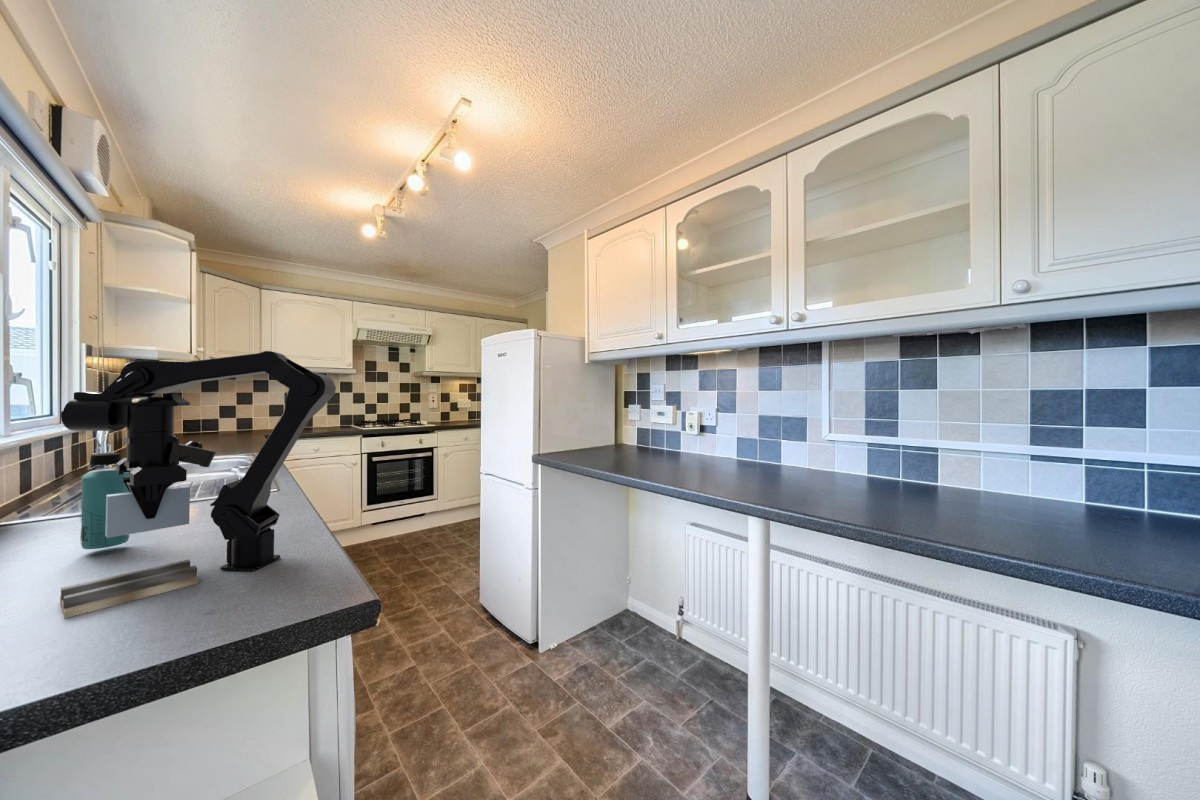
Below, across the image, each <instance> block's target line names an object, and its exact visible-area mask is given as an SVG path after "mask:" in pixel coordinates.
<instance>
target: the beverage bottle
mask: <svg viewBox="0 0 1200 800" xmlns="http://www.w3.org/2000/svg"><path fill="white" fill-rule="evenodd" d="M89 458H90V459H89V466H106V465H108V466H109V465H116V463H118V462H119V461H120V460H122V455H121V453H119V452H105V453H102V452H101V453H95V454H91V455H90V457H89ZM126 477H128V472H124V473H123V474H122V475H118V474H117V473H116V468H105V469H94V470H90V471H88V472H87V473H86V474H84V475H83V476H81V478H80V479H81V499H80V503H81V504H79V506H80V508H81V510H80V511H81V512H80V514H79V515H80V516H79V517H80V523H81V526H80V527H81V528H80V538H79V539H80V540H81V541H80V544H79V545H81V548H82V549H83V550H98V549H107V548H111V547H115V546H118V545H119V546H120V545H122V544H126V543H127V542H128V541H129V538H130V537H131V534H127V535H122V536H116V537H110V538H107V537H106V536H105V527H106V495H109V494H118V493H127V492H129V491H128V490H127V488H126V486H125V485H124V483H123V482H122V480H121V478H126Z"/></svg>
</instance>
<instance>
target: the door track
mask: <svg viewBox="0 0 1200 800" xmlns="http://www.w3.org/2000/svg"><path fill="white" fill-rule="evenodd" d="M199 579H200V577H199V576H198V566H196V565H191V560H190V559H189V558H188V559H184V560H179V561H175V562H171V563H166V564H163V565H162V564H161V565H158V566H153V567H148V568H145V569H144V568H143V569H139V570H135V571H130V572H126V573H123V574H117V575H113V576H109V577H108V576H107V577H104V578H99V579H95V580H92V581H91V580H90V581H85V582H82V583H77V584H73V585H69V586H64V587H61V588H60V595H59V602H60V607H61V610H63V611H62V614H63V618H64V619H67V618H71V617H76V616H80V615H83V613H84V614H87V613H86V612H88V613H91V612H96V611H98V610H102V609H106V608H110V607H115V606H118V605H122V604H126V603H128V602H133V601H136V600H140V599H144V598H148V597H152V596H155V595H159V594H164V593H167V592H170V591H171V592H172V591H174V590H179V589H183V588H186V587H189V586H194V585H198V584H200V583H199V582H200V581H199ZM132 600H133V601H132ZM79 614H80V615H79ZM75 615H76V616H75Z"/></svg>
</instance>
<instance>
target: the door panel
mask: <svg viewBox="0 0 1200 800" xmlns="http://www.w3.org/2000/svg"><path fill="white" fill-rule="evenodd" d="M190 501H191V486H189V485H180V486H169V487H168V488H167V489H166V490H165V492H164V495H163V497H162V500H161V503H160V506H159V509H158V511H157V514H156V517H155V518H152V519H146V518H145V516H144V514H143V513H142V511H141V509H140V507H139V505H138V503H137V502H136V500H135V498H134V496H133V494H132V493H131V492H127V493H118V494H109V495H106V527H105V536H106V537H107V538H110V537H116V536H122V535H127V534H129V535H132V534H139V533H143V532H149V531H155V530H161V529H167V528H173V527H179V526H185V525H186V526H187V525H190V511H191V510H190V505H191V502H190Z"/></svg>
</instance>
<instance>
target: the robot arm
mask: <svg viewBox="0 0 1200 800" xmlns="http://www.w3.org/2000/svg"><path fill="white" fill-rule="evenodd" d="M265 374H268V375H269V376H271V377H272V378H273V379H275V380H276V381H277V382H278V383H280V384H281V385H283V386H284V387H286V388H288V390H287V393H286V395H285V402H284V410H283V413H282V415H281V416H280V417H279V419H278V421H277V423H276V424H275V425H274V427H273V429H272V431H271V432H270V433H269V435H268V437H267V439H266V440H265V442H264V443H263V445H262V447H260V450H259V452H258V454H257V455H256V457H254V460H253V462H252V463H251V464H250V466H249V468H248V470H247V471H246V473H245V474H244V476H243V477H242V478H240V479H237V480H235V481H231V482H229V483H225V484H224V485H222V487H221V489H220V491H219V494H218V496H217V497H216V499H215V500H214V501H213V502H211V503H210V504H209V505H210V507H212V509H211V512H210V518H212V522H213V523H214V524H215V525H216V526H217V527H219V530H220V532H221V534H222V536H223V538H224V540H225V541H226V540H227V541H226V563H225V564H223V565H221V566H220V567H219V570H222V571H224V570H225V571H250V572H251V571H255V570H258V569H260V568H262V567H264V566H266V565H268V564H270V563H272V562H275V561H276V560H278V559H280V558H281V554H275V529H274V528H271V527H273V526H275V525H277V523H278V521H279V518H280V516H281V515H280V513H279V512H277V511H276V510H275V509H274V508H273V507H271V506H269V504H268V503H269V502H268V501H269V499H270V497H271V489H272V483H273V481H274V479H275V478H276V476H277V474H278V473H279V470H281V468H282V466H283V464H284V462H285V461H286V459H287V458H288V456H289V454H290V452H291V451H292V449H293V448H294V446H295V445H296V443H297V440H299V438H300V435H301V434H303V431H304V430H305V428H306V426H307V424H308V423H309V421H310V420H311V419H312V418H313V417H314V416H315V415H316V414H317V413H318V412H319V411H321V410H322V409H323V408H324V407H325V406H326V405H327V404H328V402H329V401H330V400H331V399H332V398H333V397H334V395H335V394H336V389H337V387H336V384H335V382H334V380H333V379H332V378H331V377H330V376H328V375H327V374H323V373H317V372H313V371H312V370H310V369H308V368H306V367H304V366H302V365H300V364H298V363H297V362H295V361H292V360H291V359H289V358H287V357H286V356H285V354H283V353H280V352H276V351H272V350H264V351H261V352H258V353H257V352H256V353H251V354H250V353H249V354H242V355H233V356H232V355H231V356H224V357H223V356H222V357H217V358H216V357H215V358H208V359H199V360H191V361H178V360H177V361H174V360H173V361H170V360H146V359H145V360H141V359H138V360H133V361H129V362H128V363H126V364H125V366H124V367H123V368H122V369H121V372H120V374H119V376H118V377H116V379H114V381H112V382H111V384H109V386H107V387H106V388H105V389H104V390H103V391H102V392H101V393H100V392H99V393H98V392H91V391H74V392H73V399H71V400H69V401H68V402H67V403H66V404H65V405H64V406H63V410H61V412H60V419H61V422H62V424H63V426H64V427H65V428H66V429H68V430H70V431H73V432H100V431H101V432H119V431H121V430H123V429H125V428H126V436H124V443H126V457H123V458H121V460H120V461H119V462H118V463H116V464H115V465H116V466H115V469H116V473H117V474H118V475H122V474H123V473H124V472H128V477H126V478H121V480H122V482H123V483H124V485H125V486H126V488H127V490H128V491H129V492H131V493H132V494H133V496H134V498H135V500H136V502H137V503H138V505H139V507H140V509H141V511H142V513H143V514H144V516H145V518H146V519H152V518H155V517H156V514H157V511H158V509H159V506H160V503H161V500H162V497H163V495H164V492H165V490H166V489H167V488H170V487H172V485H174V484H176V483H179V482H180V483H182V482H185V481H187V477H188V476H187V475H188V473H187V471H188V470H187V469H185V468H184V467H182V466H181V465H180V462H182V463H187V464H191V465H192V464H193V465H198V466H200V467H202V468H209V467H210V466H211V463H212V461H213V460H214V457H215V455H216V453H217V451H214V450H211V449H208V448H203V444H202V442H199V441H194V440H190V441H188V442H187V443H186V444H183V443H180V442H179V441H180V439H179V437H177V436H176V435H175V407H184V406H185V407H187V406H190V404H191V402H190V401H188V400H186V398H185V399H184V398H183V397H182V396H181V395H180V394H179V393H178V392H177V391H181V390H184V389H189V388H190V387H192V386H195V385H197V384H201V383H203V382H211V381H220V380H228V379H234V378H241V377H248V376H255V375H256V376H257V375H265ZM176 392H177V393H176ZM159 394H166V395H165V396H157V395H159ZM133 399H140V400H139V401H137V402H136V401H135V402H134V401H133Z"/></svg>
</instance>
